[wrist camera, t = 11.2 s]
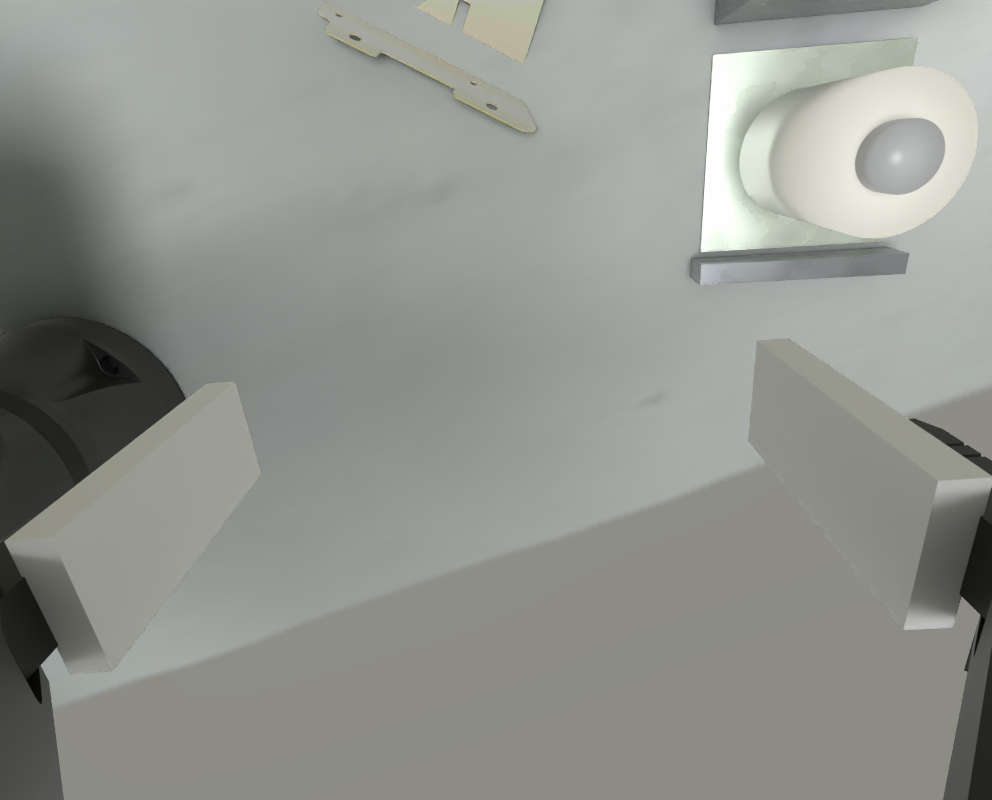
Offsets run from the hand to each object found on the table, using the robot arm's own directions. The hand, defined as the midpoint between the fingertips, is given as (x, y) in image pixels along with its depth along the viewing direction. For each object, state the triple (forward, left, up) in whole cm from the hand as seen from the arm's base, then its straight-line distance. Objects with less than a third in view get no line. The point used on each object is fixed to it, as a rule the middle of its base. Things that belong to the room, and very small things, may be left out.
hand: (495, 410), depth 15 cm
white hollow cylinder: (+17, +5, -25) cm, 31 cm away
